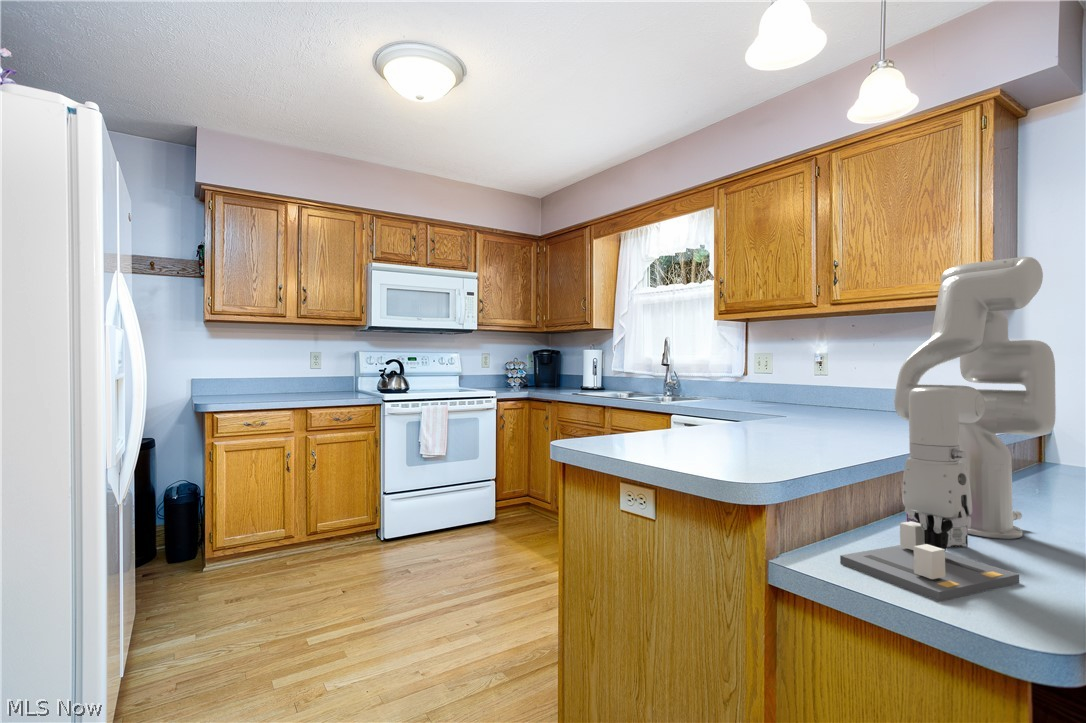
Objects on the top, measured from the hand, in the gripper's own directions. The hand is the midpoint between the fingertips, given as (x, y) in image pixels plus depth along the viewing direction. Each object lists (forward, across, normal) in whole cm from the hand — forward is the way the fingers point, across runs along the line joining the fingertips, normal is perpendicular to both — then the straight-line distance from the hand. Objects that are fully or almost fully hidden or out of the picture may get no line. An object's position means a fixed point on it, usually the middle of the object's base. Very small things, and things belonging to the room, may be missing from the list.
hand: (935, 551), depth 100 cm
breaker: (0, -6, +11) cm, 13 cm away
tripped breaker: (0, +4, 0) cm, 4 cm away
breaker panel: (+2, -2, +6) cm, 6 cm away
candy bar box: (+3, +10, -16) cm, 19 cm away
